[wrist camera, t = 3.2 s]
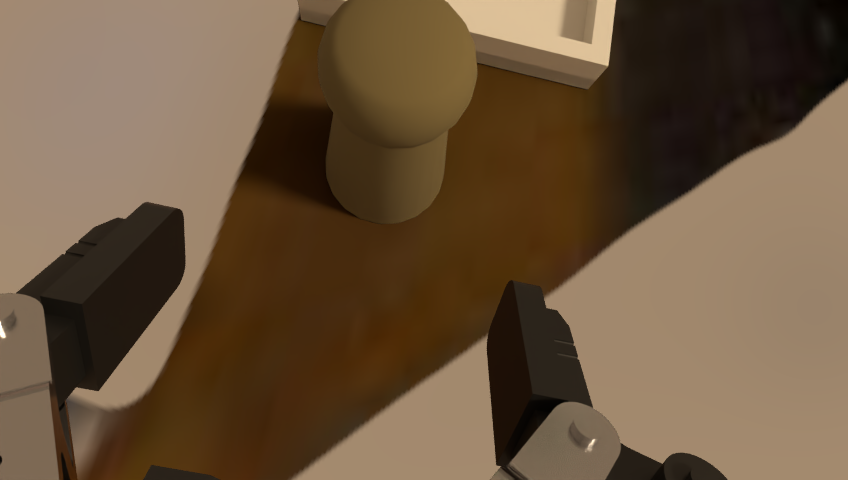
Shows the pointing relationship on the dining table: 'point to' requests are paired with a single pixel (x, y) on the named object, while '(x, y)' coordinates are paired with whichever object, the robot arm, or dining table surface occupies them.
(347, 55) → the cork
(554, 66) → the tray
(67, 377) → the robot arm
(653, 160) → the dining table surface
